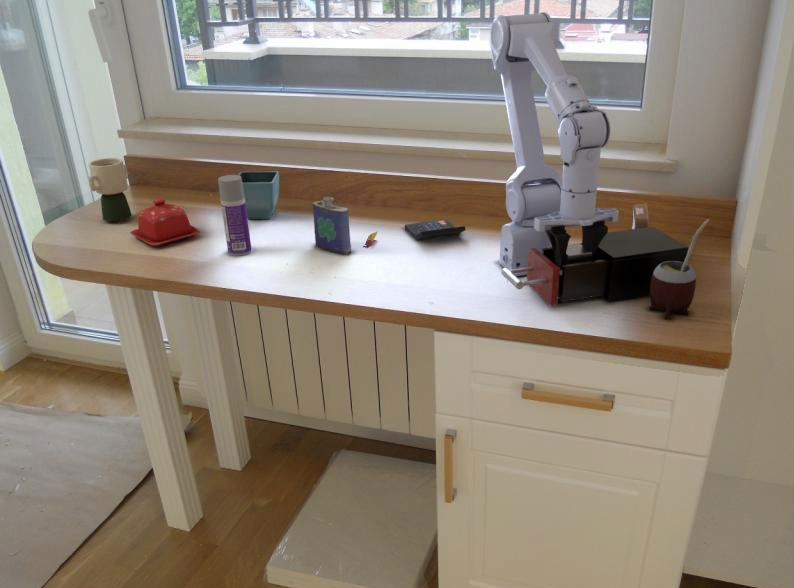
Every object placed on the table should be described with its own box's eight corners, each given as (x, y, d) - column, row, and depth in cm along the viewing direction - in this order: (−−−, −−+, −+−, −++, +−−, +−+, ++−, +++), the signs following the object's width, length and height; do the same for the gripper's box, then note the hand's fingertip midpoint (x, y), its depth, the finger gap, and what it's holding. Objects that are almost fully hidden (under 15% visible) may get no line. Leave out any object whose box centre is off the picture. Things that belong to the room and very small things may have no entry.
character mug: (123, 210, 187) (111, 154, 180) (147, 214, 184) (135, 157, 177) (88, 225, 178) (74, 166, 172) (112, 229, 175) (98, 170, 169)
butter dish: (152, 251, 163) (144, 210, 159) (128, 237, 171) (120, 198, 166) (203, 237, 170) (197, 198, 165) (178, 224, 177) (171, 186, 173)
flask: (354, 251, 160) (350, 199, 155) (343, 256, 159) (339, 203, 153) (321, 242, 166) (317, 191, 160) (311, 246, 164) (306, 195, 158)
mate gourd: (644, 317, 132) (656, 230, 124) (650, 298, 138) (661, 214, 131) (691, 323, 130) (706, 235, 122) (695, 304, 136) (710, 218, 128)
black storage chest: (608, 302, 137) (613, 257, 133) (578, 278, 146) (582, 235, 142) (681, 291, 141) (688, 247, 136) (647, 268, 150) (653, 226, 146)
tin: (647, 266, 151) (653, 223, 147) (630, 265, 151) (635, 222, 147) (644, 238, 164) (649, 198, 159) (628, 237, 164) (633, 197, 160)
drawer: (519, 310, 133) (521, 273, 130) (496, 288, 142) (497, 252, 138) (621, 295, 138) (625, 258, 135) (594, 273, 146) (597, 239, 143)
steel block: (566, 280, 137) (568, 255, 134) (555, 270, 140) (557, 246, 138) (589, 276, 138) (592, 252, 135) (578, 267, 141) (580, 243, 139)
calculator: (445, 223, 174) (445, 209, 173) (465, 240, 165) (465, 226, 163) (404, 228, 172) (404, 214, 170) (422, 246, 162) (422, 232, 161)
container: (256, 249, 163) (246, 176, 155) (242, 257, 159) (232, 182, 152) (237, 246, 165) (227, 173, 157) (223, 254, 161) (212, 180, 153)
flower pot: (277, 222, 177) (272, 182, 173) (237, 223, 177) (232, 182, 173) (283, 209, 185) (279, 170, 180) (245, 210, 185) (240, 171, 180)
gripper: (549, 200, 126) (544, 280, 133) (631, 190, 130) (622, 268, 137) (530, 187, 132) (526, 265, 139) (609, 178, 136) (602, 254, 142)
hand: (572, 266), depth 138 cm, fingers closed on steel block, 4 cm apart
